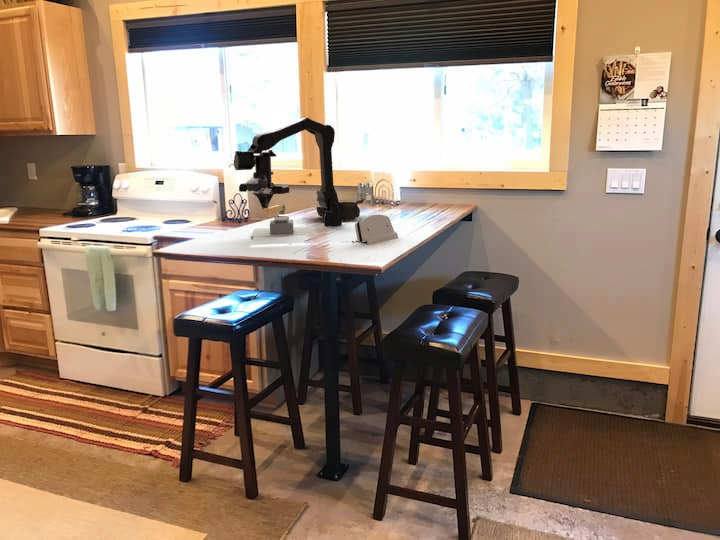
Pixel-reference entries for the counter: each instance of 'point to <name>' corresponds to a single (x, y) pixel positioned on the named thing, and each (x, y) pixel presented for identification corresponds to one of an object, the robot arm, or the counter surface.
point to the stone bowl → (349, 209)
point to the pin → (281, 218)
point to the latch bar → (274, 209)
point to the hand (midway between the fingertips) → (264, 211)
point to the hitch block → (283, 229)
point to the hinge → (375, 229)
